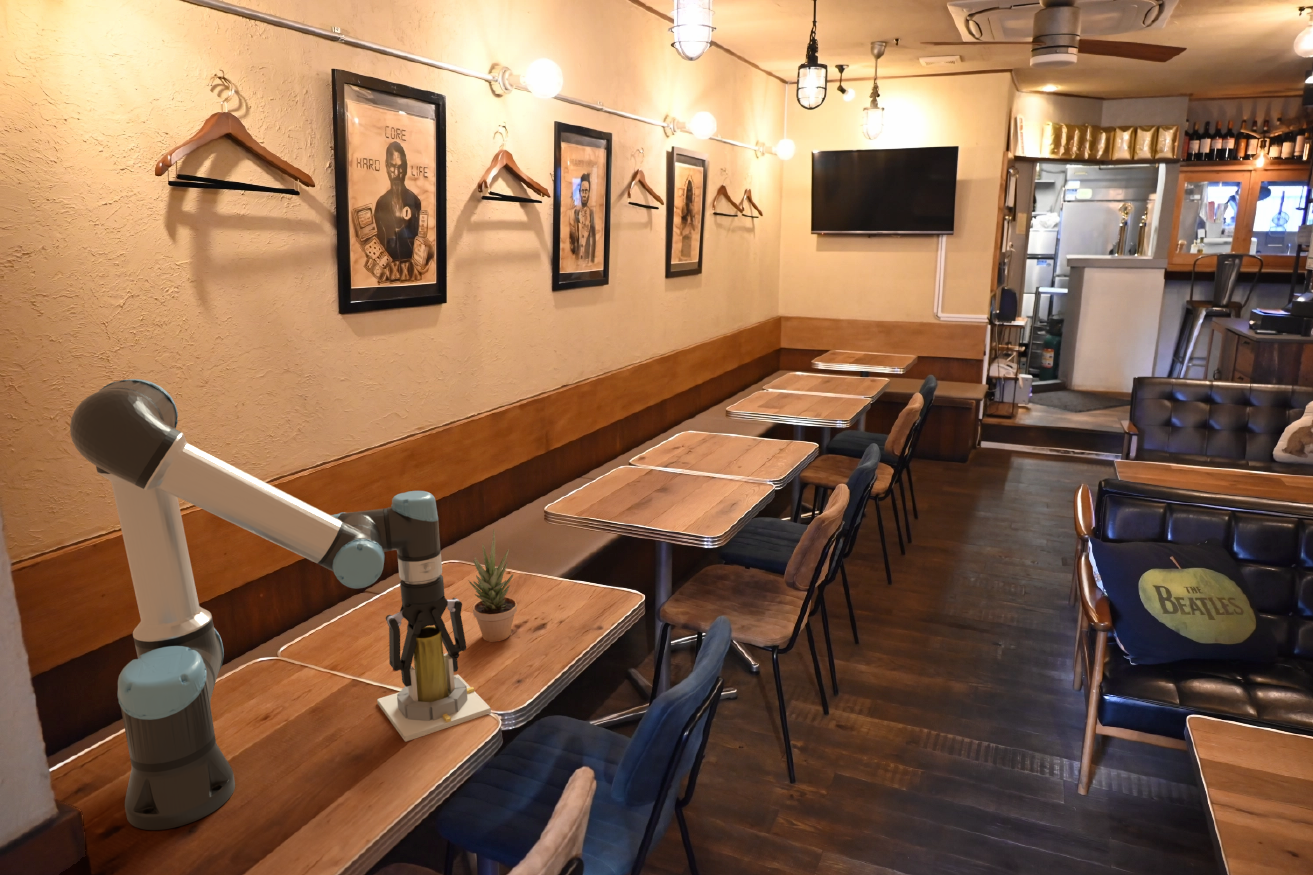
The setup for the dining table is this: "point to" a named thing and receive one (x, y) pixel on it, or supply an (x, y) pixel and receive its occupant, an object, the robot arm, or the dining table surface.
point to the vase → (430, 666)
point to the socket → (432, 710)
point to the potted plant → (493, 599)
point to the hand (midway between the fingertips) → (432, 693)
